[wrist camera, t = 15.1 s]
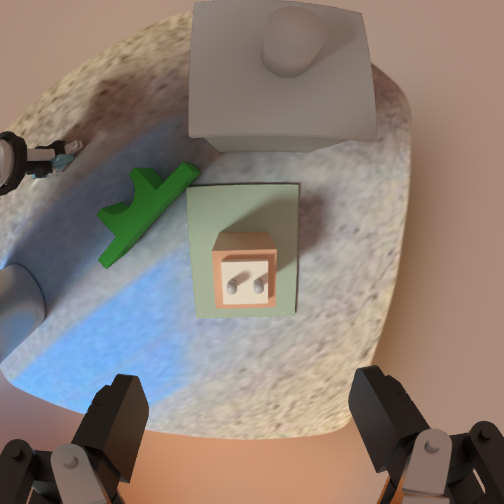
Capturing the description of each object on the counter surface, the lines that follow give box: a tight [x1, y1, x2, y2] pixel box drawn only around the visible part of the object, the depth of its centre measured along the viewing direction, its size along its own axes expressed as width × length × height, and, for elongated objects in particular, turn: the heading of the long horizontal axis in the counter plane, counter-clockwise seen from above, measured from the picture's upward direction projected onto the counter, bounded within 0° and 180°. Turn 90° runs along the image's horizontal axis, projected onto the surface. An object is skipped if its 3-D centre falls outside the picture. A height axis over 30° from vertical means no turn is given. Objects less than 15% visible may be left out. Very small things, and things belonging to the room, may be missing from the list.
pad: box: [186, 184, 298, 318], centre depth 26 cm, size 10×13×1 cm
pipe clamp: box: [97, 162, 201, 269], centre depth 22 cm, size 11×4×5 cm, turn 133°
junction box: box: [189, 0, 377, 153], centre depth 15 cm, size 9×8×16 cm
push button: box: [0, 131, 83, 196], centre depth 17 cm, size 7×5×10 cm
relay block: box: [212, 232, 277, 309], centre depth 22 cm, size 4×4×8 cm
